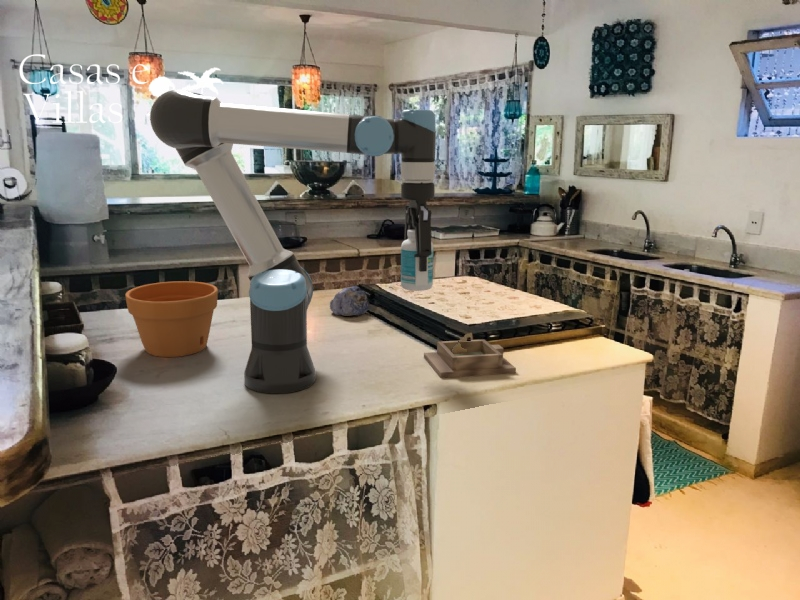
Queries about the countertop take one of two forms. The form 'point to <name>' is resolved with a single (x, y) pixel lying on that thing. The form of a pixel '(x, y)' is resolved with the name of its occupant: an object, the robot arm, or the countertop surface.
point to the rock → (350, 302)
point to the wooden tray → (468, 359)
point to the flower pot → (173, 316)
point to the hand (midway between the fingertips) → (416, 281)
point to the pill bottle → (413, 264)
